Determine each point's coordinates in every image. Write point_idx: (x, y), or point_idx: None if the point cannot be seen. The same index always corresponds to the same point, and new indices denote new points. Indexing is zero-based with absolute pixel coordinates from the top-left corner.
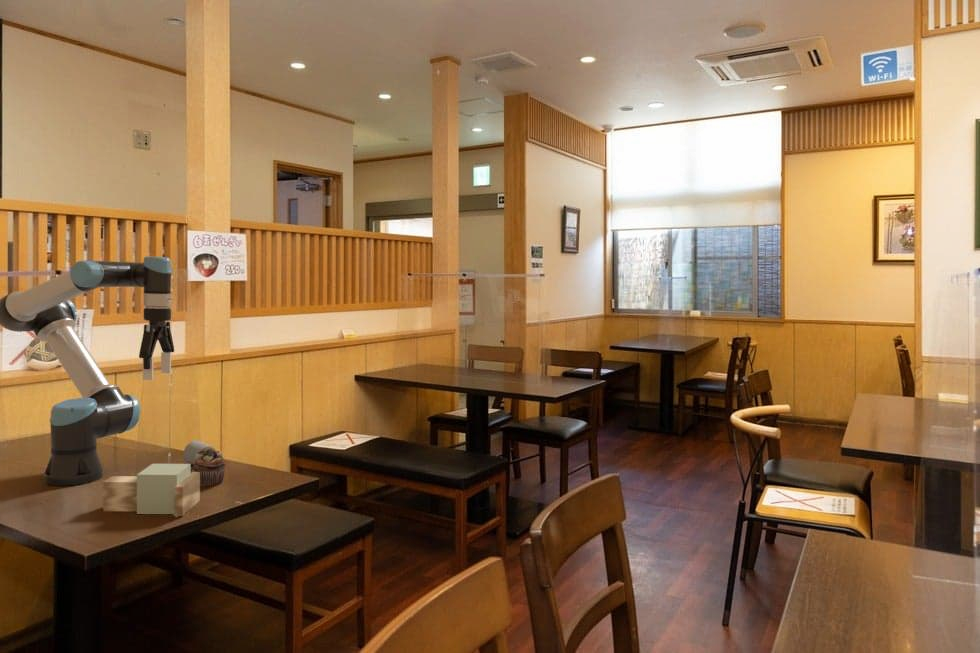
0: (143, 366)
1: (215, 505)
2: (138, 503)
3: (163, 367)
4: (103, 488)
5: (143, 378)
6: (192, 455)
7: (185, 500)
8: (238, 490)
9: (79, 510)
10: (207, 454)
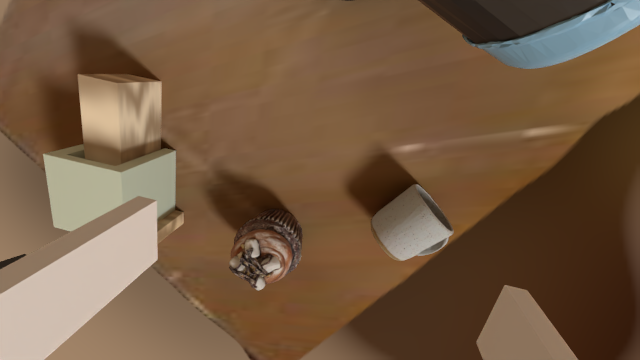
0: (28, 261)
1: (160, 245)
2: None
3: (520, 343)
4: (91, 74)
5: (131, 204)
6: (386, 209)
7: None
8: (230, 276)
9: (128, 26)
10: (237, 265)
